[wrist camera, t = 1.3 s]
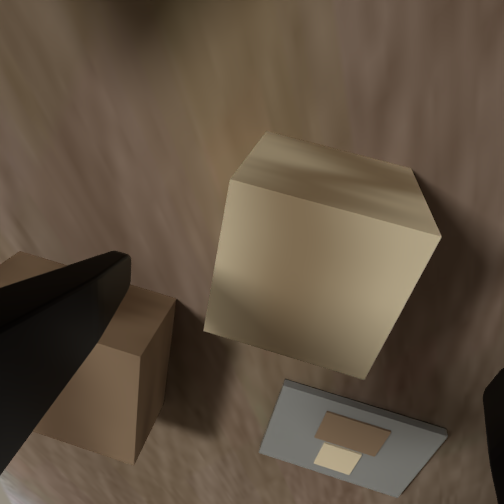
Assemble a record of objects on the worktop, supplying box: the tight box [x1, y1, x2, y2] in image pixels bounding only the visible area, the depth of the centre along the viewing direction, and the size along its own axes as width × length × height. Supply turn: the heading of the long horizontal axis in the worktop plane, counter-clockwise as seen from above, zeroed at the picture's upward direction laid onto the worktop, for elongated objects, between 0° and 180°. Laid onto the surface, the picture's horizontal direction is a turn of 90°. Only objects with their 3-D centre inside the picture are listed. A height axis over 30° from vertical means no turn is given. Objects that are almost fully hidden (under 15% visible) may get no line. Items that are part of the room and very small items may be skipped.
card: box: [259, 379, 448, 498], centre depth 20 cm, size 8×6×1 cm
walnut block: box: [0, 251, 176, 465], centre depth 19 cm, size 8×8×4 cm
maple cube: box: [203, 131, 442, 380], centre depth 12 cm, size 5×5×5 cm
